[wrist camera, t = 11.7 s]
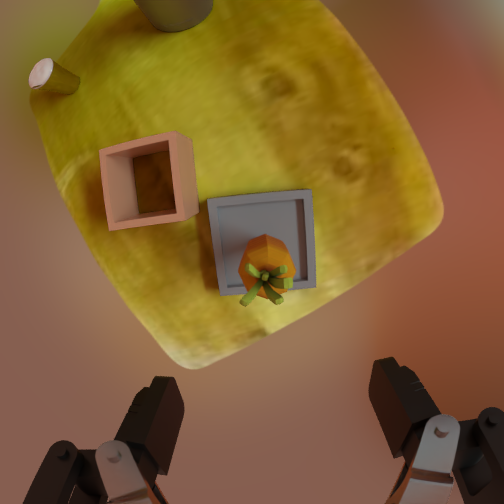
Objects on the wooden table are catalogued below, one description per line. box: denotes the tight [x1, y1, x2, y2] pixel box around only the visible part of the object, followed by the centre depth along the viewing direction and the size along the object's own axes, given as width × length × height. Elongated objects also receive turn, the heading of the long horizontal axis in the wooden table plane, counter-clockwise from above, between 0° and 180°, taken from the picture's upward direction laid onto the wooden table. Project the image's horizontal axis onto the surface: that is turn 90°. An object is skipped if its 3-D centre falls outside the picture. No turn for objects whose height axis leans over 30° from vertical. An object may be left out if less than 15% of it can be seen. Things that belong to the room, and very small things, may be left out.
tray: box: [207, 189, 316, 296], centre depth 33 cm, size 12×12×2 cm
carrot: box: [238, 234, 296, 306], centre depth 26 cm, size 5×5×15 cm
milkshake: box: [28, 58, 80, 95], centre depth 24 cm, size 5×5×10 cm
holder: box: [99, 131, 200, 231], centre depth 29 cm, size 9×9×7 cm
